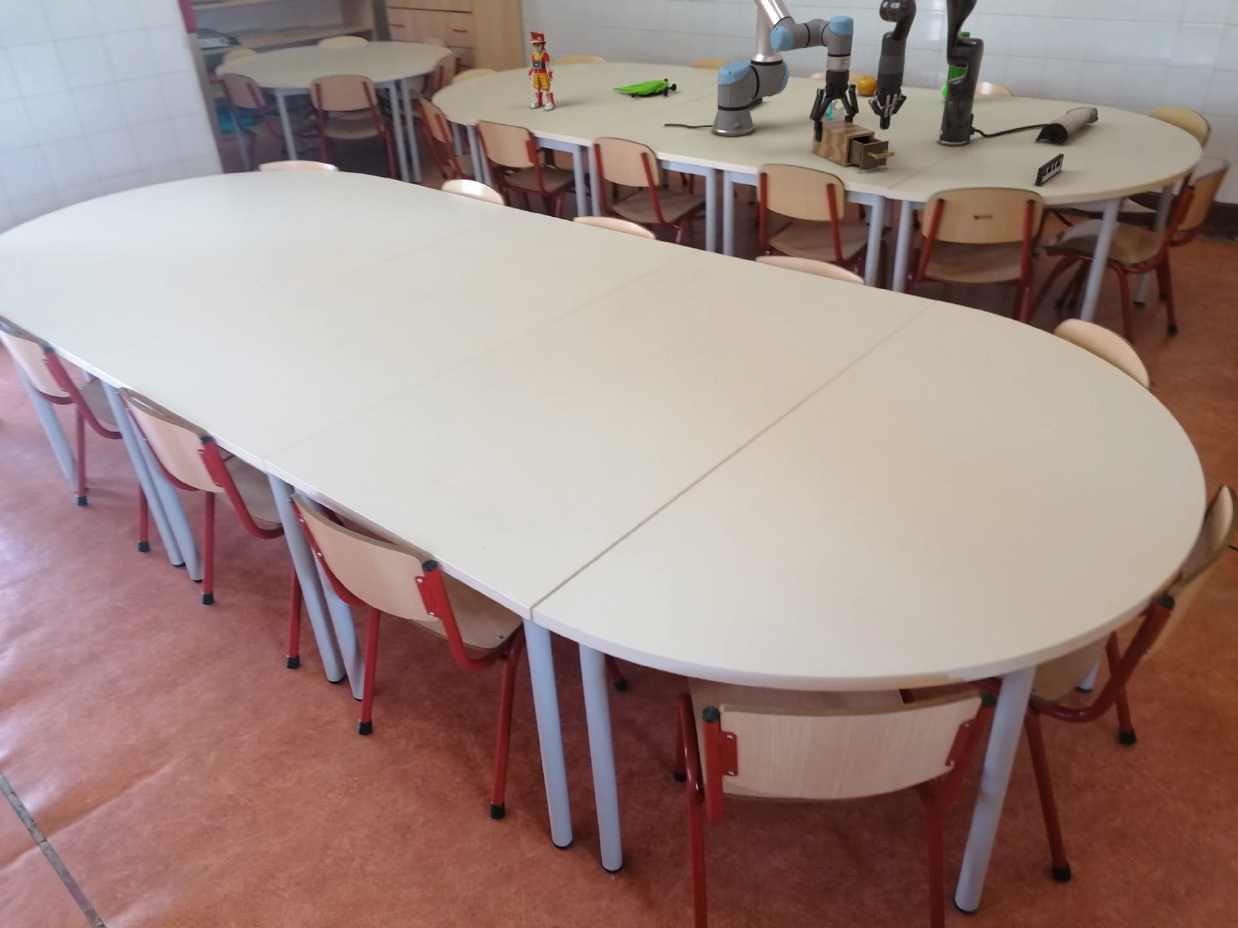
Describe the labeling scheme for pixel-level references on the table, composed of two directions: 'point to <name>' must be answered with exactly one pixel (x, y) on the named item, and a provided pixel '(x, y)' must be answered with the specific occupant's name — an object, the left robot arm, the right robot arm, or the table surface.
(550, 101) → the toy
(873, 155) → the drawer
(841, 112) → the anatomical model
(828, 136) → the cabinet
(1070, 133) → the rolled mat
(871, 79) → the fruit
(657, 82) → the toy
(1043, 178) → the midi keyboard
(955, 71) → the plastic bottle
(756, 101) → the disk drive
